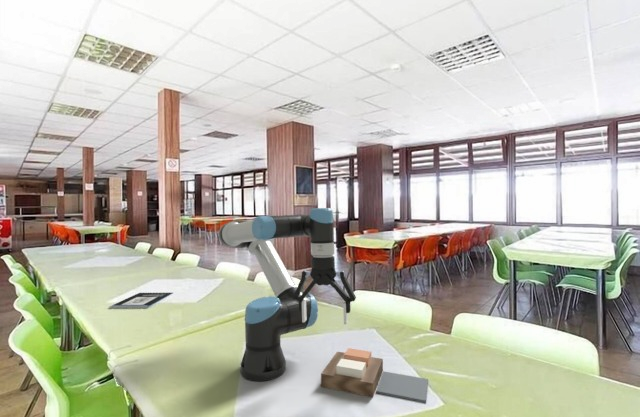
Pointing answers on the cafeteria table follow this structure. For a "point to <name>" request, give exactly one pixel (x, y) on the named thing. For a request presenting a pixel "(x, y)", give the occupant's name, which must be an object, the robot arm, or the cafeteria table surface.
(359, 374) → the cream tile
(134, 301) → the picture frame
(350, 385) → the deck
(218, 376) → the cafeteria table surface
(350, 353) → the terracotta tile
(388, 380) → the mat
